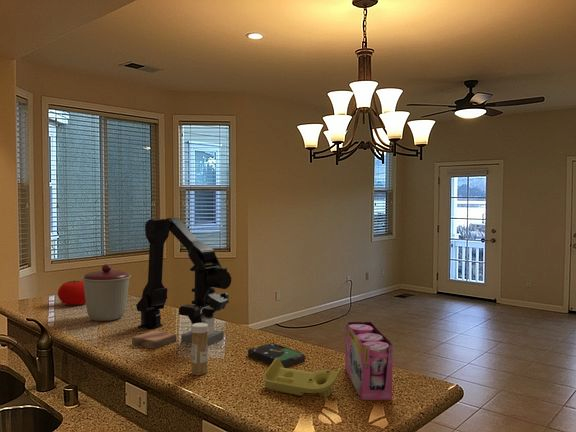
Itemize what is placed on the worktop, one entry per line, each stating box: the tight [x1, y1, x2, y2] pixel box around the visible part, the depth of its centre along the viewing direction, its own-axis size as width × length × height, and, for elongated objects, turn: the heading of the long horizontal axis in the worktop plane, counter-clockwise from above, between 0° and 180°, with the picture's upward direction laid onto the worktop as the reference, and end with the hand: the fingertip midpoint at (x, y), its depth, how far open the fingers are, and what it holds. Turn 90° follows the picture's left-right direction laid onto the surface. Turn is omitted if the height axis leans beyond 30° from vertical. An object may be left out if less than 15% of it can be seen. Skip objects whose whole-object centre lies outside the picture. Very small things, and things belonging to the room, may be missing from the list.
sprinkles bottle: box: [190, 323, 209, 376], centre depth 137 cm, size 5×5×14 cm
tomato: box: [57, 280, 86, 306], centre depth 217 cm, size 14×13×10 cm
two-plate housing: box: [190, 316, 215, 336], centre depth 167 cm, size 6×4×5 cm
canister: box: [80, 263, 132, 322], centre depth 194 cm, size 18×18×21 cm
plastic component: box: [262, 358, 343, 398], centre depth 126 cm, size 20×7×10 cm
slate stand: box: [180, 329, 225, 347], centre depth 167 cm, size 10×10×2 cm
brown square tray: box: [131, 329, 177, 350], centre depth 163 cm, size 10×10×2 cm
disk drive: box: [247, 342, 306, 368], centre depth 150 cm, size 10×3×15 cm
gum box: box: [344, 321, 394, 401], centre depth 131 cm, size 24×8×14 cm, turn 4°
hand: (202, 331), depth 167 cm, fingers closed on two-plate housing, 4 cm apart
